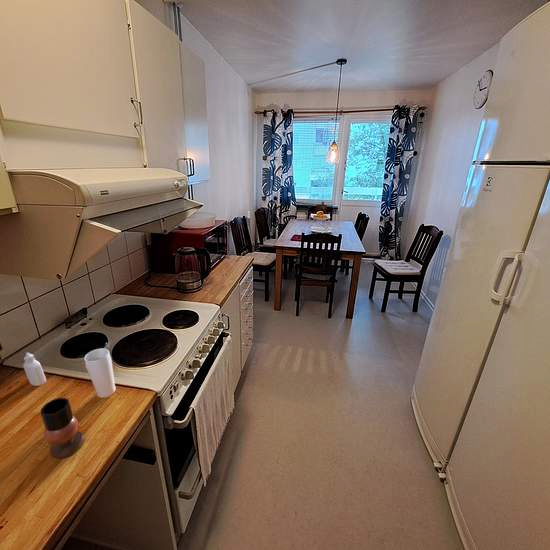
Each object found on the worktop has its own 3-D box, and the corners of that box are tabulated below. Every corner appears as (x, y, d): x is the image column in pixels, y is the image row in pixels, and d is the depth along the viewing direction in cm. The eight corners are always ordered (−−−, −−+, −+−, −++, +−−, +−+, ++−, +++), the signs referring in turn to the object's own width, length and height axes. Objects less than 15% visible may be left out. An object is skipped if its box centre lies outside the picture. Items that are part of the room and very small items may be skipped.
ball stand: (62, 464, 71) (51, 436, 67) (45, 452, 74) (33, 425, 70) (90, 440, 77) (81, 413, 73) (73, 430, 80) (64, 404, 76)
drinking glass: (91, 392, 93) (80, 354, 87) (114, 381, 97) (104, 345, 92) (98, 404, 88) (87, 365, 83) (121, 392, 93) (112, 354, 87)
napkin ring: (54, 434, 69) (49, 419, 67) (40, 425, 71) (35, 410, 69) (77, 417, 73) (73, 402, 72) (64, 409, 76) (60, 394, 74)
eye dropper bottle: (45, 374, 100) (35, 346, 95) (47, 383, 96) (36, 354, 92) (29, 380, 97) (18, 351, 93) (30, 389, 93) (19, 360, 89)
